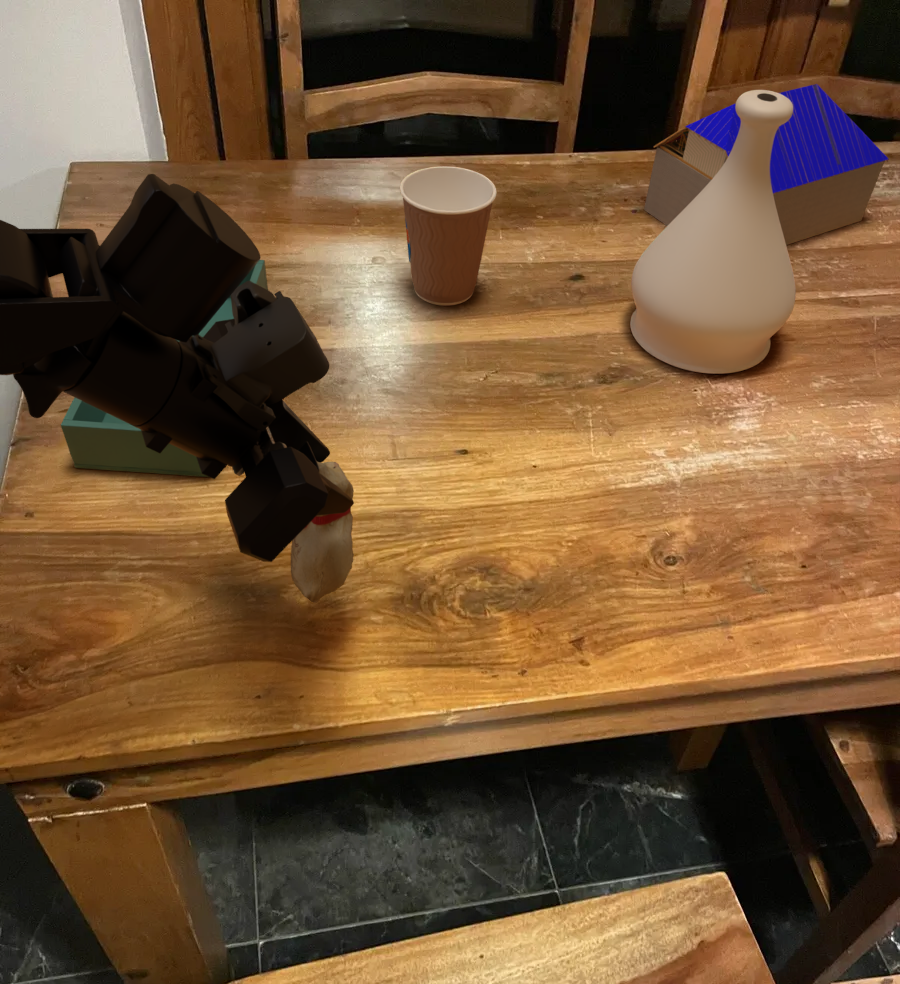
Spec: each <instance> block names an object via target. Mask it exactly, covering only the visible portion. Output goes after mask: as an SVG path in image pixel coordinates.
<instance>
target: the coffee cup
mask: <svg viewBox="0 0 900 984" xmlns="http://www.w3.org/2000/svg"><path fill="white" fill-rule="evenodd" d="M399 192H400V195H401V197H402V203H403V210H404V221H405V231H406V232H405V233H406V243H407V255H408V262H409V263H410V264H409V265H410V273H411V281H412V284H413V288H414V292H415V295H417V296H418V298H420V299H421V300H422V301H424V302H426V303H428V304H432V305H437V306H445V307H447V306H456V305H459V304H462V303H464V302H467V300H469V299H471V297H472V296H473V294H474V292H475V288H476V285H477V281H478V277H479V274H480V273H479V272H480V269H481V264H482V263H481V262H482V257H483V252H484V247H485V243H486V236H487V232H488V227H489V223H490V218H491V211H492V206H493V202H494V201H495V199H496V198H497V188H496V185H495V184H494V182H493V181H492V180H491V179H489V178H488V176H486V175H484V174H482V173H480V172H477V171H475V170H472V169H469V168H464V167H457V166H449V165H447V166H446V165H440V166H430V167H424V168H421V169H418V170H415V171H413V172H411V173H409V174H408V175H406V176H405V177H404V178H402V180H401V182H400V184H399Z"/></svg>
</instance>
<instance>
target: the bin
mask: <svg viewBox="0 0 900 984" xmlns="http://www.w3.org/2000/svg"><path fill="white" fill-rule="evenodd" d="M247 281H251V282H253V283H255V284H257V285H259V286H261V287H263V288H265V289H267V290H269V286H268V285H269V284H268V276H267V269H266V260H265V259H260V260H259V261H258V263H257V264H256V265H255V266H254V267H253V269H252V270H251V271H250V272H249V273H248V275H247V276H246V277H245V278H244V280H243V281H242V282H241V283H240V284H239V286H240V285H242V284H243V283H245V282H247ZM229 319H234V317H233V313H232V303H231V295H230V297H229V298H228V299H227V300H226V301H225V303H224V304H223V305H222V306H221V307H220V309H219V310H218V311H217V312H216V314H215V315H214V316H213V317H212V318H211V320H210V321H209V322H208V323H207V324H206V326H205V327H204V328H203V329H202V331H201V332H200V333H199V334H198V335H200V336H201V337H204V336H205V334H206V333H207V332H208V331H209V329H210V328H211V327H212V326H213V325H214V323H215V322H217V321H223V320H229ZM175 340H176V339H175ZM177 341H178V340H177ZM179 342H180V341H179ZM60 427H61V430H62V434H63V436H64V439H65V442H66V444H67V447H68V451H69V454H70V457H71V459H72V462H73V465H74V468H75V469H87V470H99V471H100V470H102V471H104V470H105V471H114V472H115V471H116V472H128V473H129V472H130V473H143V474H144V473H145V474H160V475H171V476H172V475H174V476H185V477H187V476H188V477H202V478H209V477H208V476H206V475H204V474H202V473H201V470H200V467H199V464H198V461H197V458H196V456H194V455H192V454H190V453H188V452H186V451H184V450H182V449H180V448H178V447H175V446H173V445H171V444H168V445H167V446H166V447H165V448H164V450H163V451H162V452H161V453H158V452H156V451H153V450H151V449H149V448H147V447H146V446H145V442H144V439H143V435H142V432H141V430H140V429H138V428H136V427H134V426H132V425H130V424H129V423H127V422H125V421H122V420H120V419H118V418H116V417H114V416H112V415H110V414H108V413H106V412H104V411H102V410H100V409H98V408H96V407H94V406H92V405H90V404H88V403H85V402H83V401H81V400H79V399H77V398H75V397H73V400H72V401H71V404H70V406H69V407H68V409H67V411H66V414H65V415H64V417H63V419H62V422H61V424H60Z"/></svg>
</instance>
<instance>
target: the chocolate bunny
mask: <svg viewBox="0 0 900 984" xmlns="http://www.w3.org/2000/svg"><path fill="white" fill-rule="evenodd" d="M317 463H318V465H319V470H320V474H322V475H323V476H324V477H326V478H327V479H328V480H330V481H331V482H332V483H334V484H335V485H336V486H338V487H339V488H340V489H341V490H343V491H344V492H345V493H346V494H347V495H348V496H350V497H351V498H352V499H353V498H354V493H355V492H354V486H353V484H352V483H351V481H350V480H349V479H348V477H347V476H346V474H345V472H344V470H343V468H342V467H341V466H340V463H338V462H336V461H323V462H317ZM353 520H354V519H353V514H352V506H351V507H350V508H349V509H348V510H347V511H346V512H345V513H337V514H328V515H318V516H316V517H315V518H314V519H313V520H312V521H311V522H310V523H309V524H308V525H307V526H306V527H305V528H304V529H303V530H302V531H301V532H300V533H299V534H298V535H297V536H296V537H295V538H294V539H293V540H292V541H291V546H290V547H291V548H290V575H291V579H292V582H293V585H294V586H295V587H296V588H297V589H298V590H299V591H300V592H301V594H302V595H303V597H304V598H305V599H307V600H308V601H309V602H310V603H313V604H315V603H318V602H319V601H321V599H322V598H324V597H325V596H327V595H330V594H332V593H335V592H336V591H337V590H338V589H341V587H343V585H344V584H345V583H346V581H347V578H348V576H349V573H350V572H351V570H352V568H353V562H354V556H355V554H354V548H353V547H354V546H353V545H354V543H353V535H352V531H353V524H354V523H353V522H354V521H353Z"/></svg>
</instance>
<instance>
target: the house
mask: <svg viewBox="0 0 900 984" xmlns="http://www.w3.org/2000/svg"><path fill="white" fill-rule="evenodd" d="M778 93H779V94H782V95H784V96H785V97H787V98H788V99H789V100H790V101H791V102H792V104H793V113H792V116H791V118H790V119H789V120H788V121H787V122H786V123H784V124H782V125H781V126H779V128H778V129H777V131H776V134H775V137H774V141H773V146H772V152H771V158H770V179H771V186H772V192H773V196H774V201H775V205H776V209H777V213H778V217H779V221H780V225H781V228H782V232H783V236H784V239H785V243H786V246H787V245H791V244H793V243H798V242H800V241H804V240H806V239H809V238H812V237H815V236H819V235H822V234H824V233H828V232H830V231H833V230H834V231H835V230H837V229H840V228H844V227H846V226H849V225H852V224H856V223H859V222H862V220H863V218H864V215H865V212H866V209H867V208H868V205H869V203H870V199H871V197H872V195H873V192H874V189H875V187H876V185H877V183H878V179H879V178H880V174H881V172H882V170H883V167H884V164H885V161H886V162H887V163H888V162H889V160H890V159H889V157H888V156H887V155H886V154H885V153H884V152H883V151H882V150H881V149H880V148H879V147H878V146H877V145H876V144H875V143H874V142H873V140H872V139H870V137H869V136H868V135H867V134H865V132H864V131H863V130H862V129H861V128H860V127H859V125H857V123H855V122H854V121H853V120H852V118H851V117H850V116H848V114H847V113H846V112H845V111H844V110H843V109H842V108H841V107H840V106H839V105H838V104H837V103H836V102H835V101H834V100H833V99H832V97H830V96H829V94H827V93H826V91H824V90H823V88H821V86H820V85H819V84H818V83H815V84H810V85H806V86H801V87H798V88H794V89H793V88H792V89H790V90H785V91H781V92H778ZM735 106H736V102H735V103H733V104H731V105H728V106H726V107H725V108H722V109H720V110H717V111H715V112H714V113H712V114H709V115H707V116H705V117H702V118H700V119H697V120H696V121H694V122H691V123H689V124H687V125H685V126H683V127H682V128H679V130H677V131H675V132H674V133H672V134H671V135H669V136H668V137H666V138H665V139H663V140H661V141H659V142H658V143H656V144H655V145H653V149H655V148H656V149H655V154H654V160H653V164H652V169H651V174H650V178H649V183H648V187H647V193H646V197H645V203H644V207H643V211H645V212H646V213H648V214H649V215H651V216H652V217H653V218H654V219H656V220H658V221H659V222H661V223H662V224H664V225H665V226H666V227H667V226H668V225H669V224H670V223H671V222H672V221H673V220H674V219H675V218H676V217H677V216H678V215H679V214H680V213H681V212H682V211H683V210H684V209H685V208H686V207H687V206H688V204H689V203H690V202H691V201H692V200H693V199H694V198H695V197H696V196H697V195H698V194H699V193H700V192H701V191H702V190H703V189H704V188H705V187H706V186H707V184H708V183H709V182H710V181H711V180H712V179H713V178H714V176H715V175H716V174H717V173H718V171H719V170H720V169H721V167H722V166H723V165H724V163H725V161H726V160H727V158H728V156H729V154H730V152H731V150H732V148H733V146H734V143H735V141H736V138H737V136H738V133H739V129H740V125H741V119H740V117H739V116H738V115H737V113H736V109H735Z"/></svg>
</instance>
